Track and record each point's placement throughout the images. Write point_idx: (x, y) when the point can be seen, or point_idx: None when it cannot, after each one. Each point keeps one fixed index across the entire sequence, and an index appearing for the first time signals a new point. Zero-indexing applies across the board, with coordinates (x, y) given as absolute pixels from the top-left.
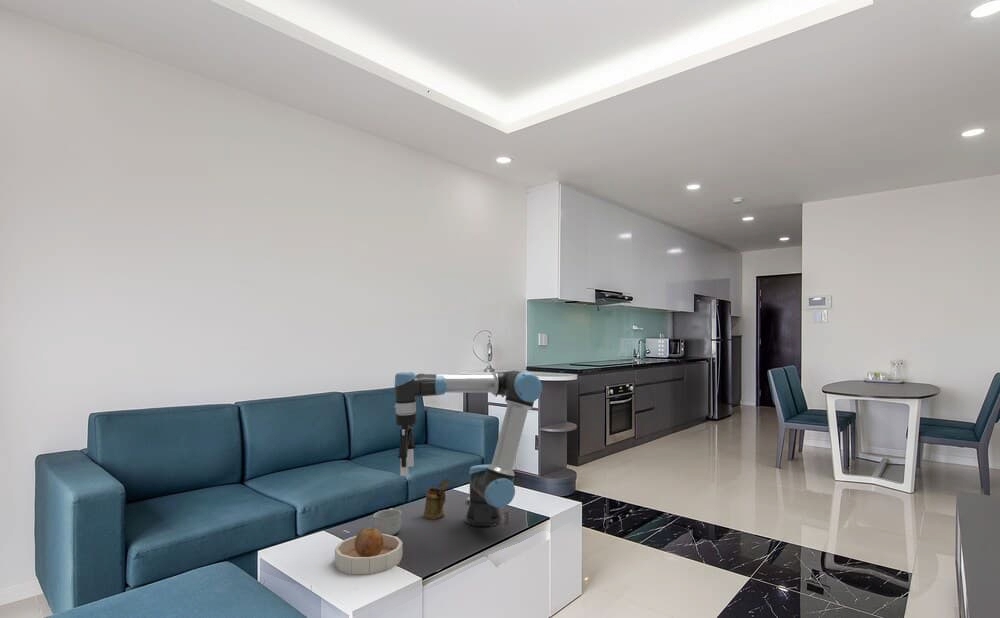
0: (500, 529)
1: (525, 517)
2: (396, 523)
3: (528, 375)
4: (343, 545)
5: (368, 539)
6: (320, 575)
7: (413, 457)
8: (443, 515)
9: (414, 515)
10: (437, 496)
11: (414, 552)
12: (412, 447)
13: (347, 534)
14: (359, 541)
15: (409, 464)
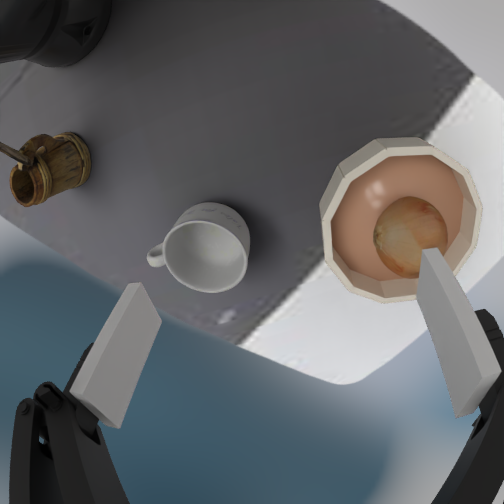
0: None
1: None
2: (225, 215)
3: None
4: (381, 292)
5: (447, 239)
6: None
7: (108, 332)
8: (65, 132)
9: (83, 208)
10: (40, 162)
11: (341, 112)
12: (70, 409)
13: (245, 310)
14: None
15: (148, 316)
